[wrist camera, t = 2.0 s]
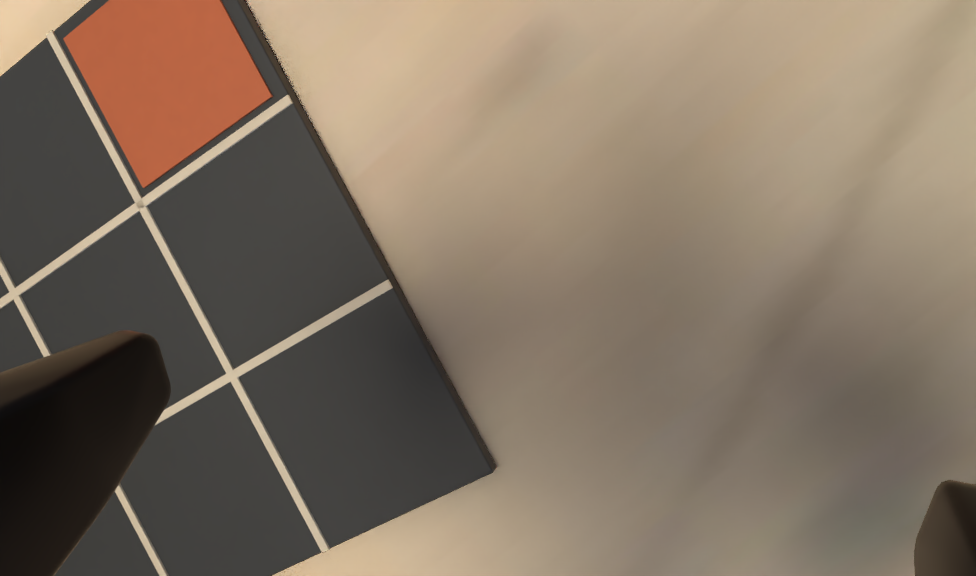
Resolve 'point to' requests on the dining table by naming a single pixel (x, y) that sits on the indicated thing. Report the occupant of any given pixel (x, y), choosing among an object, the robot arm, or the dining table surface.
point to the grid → (216, 294)
